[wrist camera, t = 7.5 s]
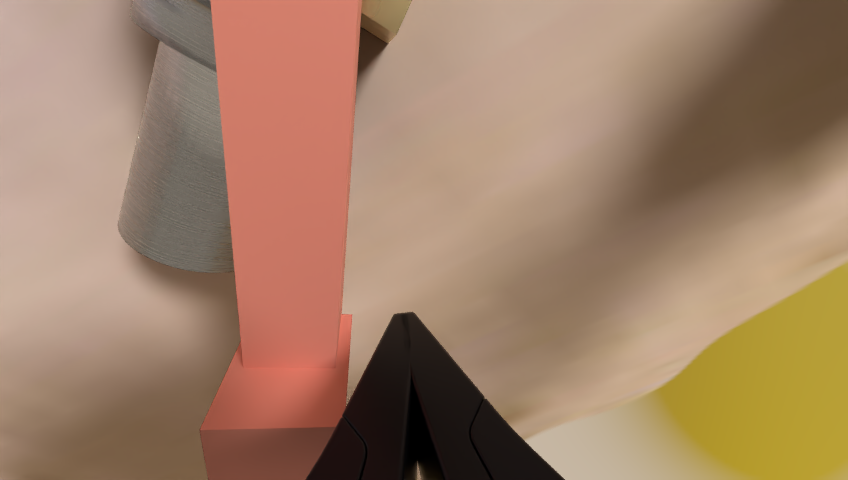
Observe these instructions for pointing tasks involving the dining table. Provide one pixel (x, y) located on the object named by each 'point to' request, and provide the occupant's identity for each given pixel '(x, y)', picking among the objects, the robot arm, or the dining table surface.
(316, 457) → the lever
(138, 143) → the valve
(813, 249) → the dining table surface
